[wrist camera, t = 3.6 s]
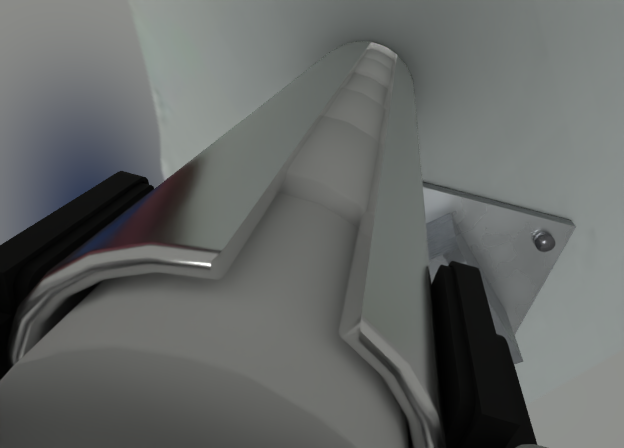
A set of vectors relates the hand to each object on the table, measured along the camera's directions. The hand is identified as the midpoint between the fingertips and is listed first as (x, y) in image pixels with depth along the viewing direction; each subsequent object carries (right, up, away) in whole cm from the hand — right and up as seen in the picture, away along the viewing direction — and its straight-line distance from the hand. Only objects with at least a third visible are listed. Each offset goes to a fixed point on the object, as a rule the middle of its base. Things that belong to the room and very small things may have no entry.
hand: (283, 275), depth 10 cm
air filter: (+4, +9, +17) cm, 20 cm away
